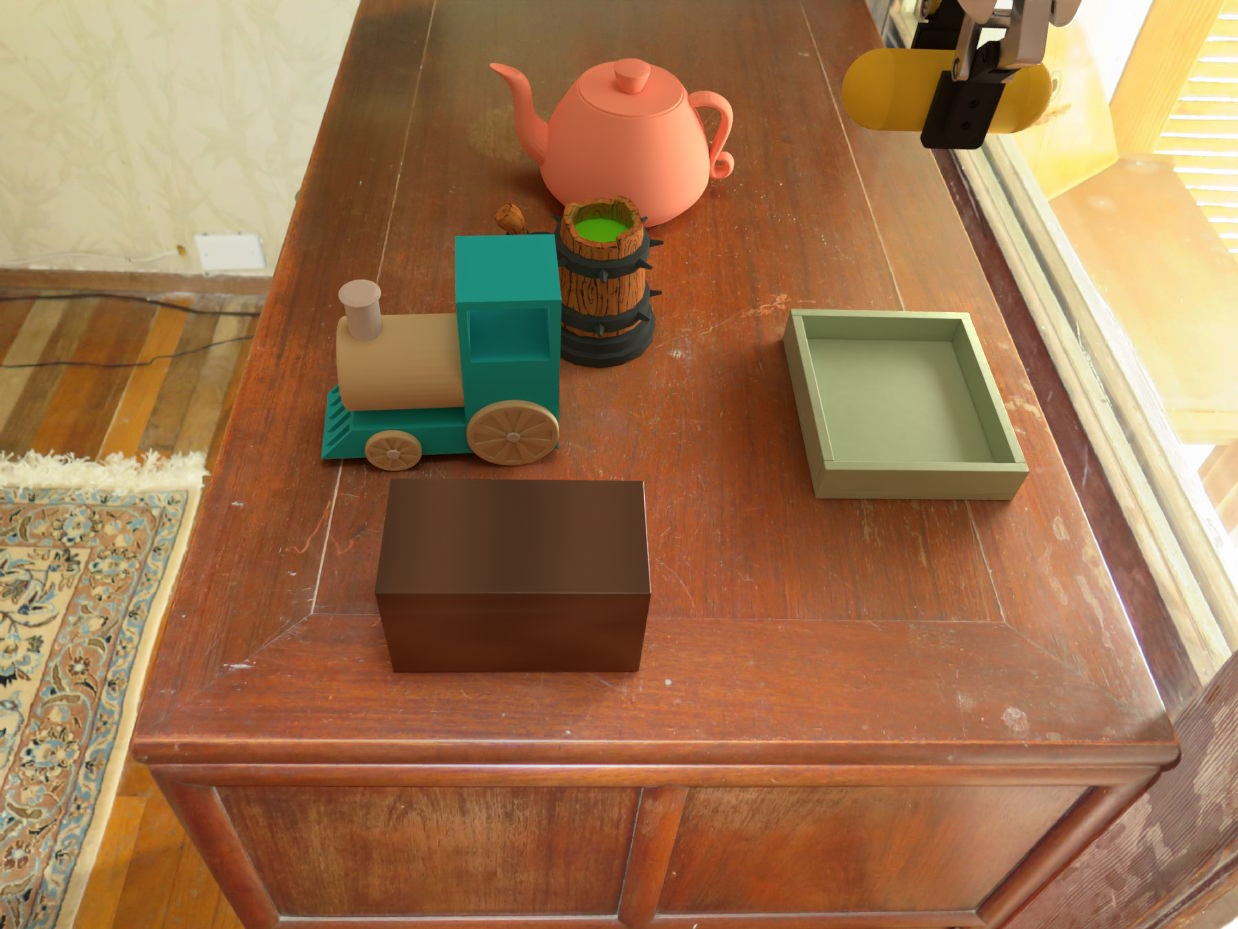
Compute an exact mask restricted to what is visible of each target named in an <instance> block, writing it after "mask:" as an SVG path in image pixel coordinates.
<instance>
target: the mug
mask: <svg viewBox="0 0 1238 929" xmlns="http://www.w3.org/2000/svg"><path fill="white" fill-rule="evenodd" d="M551 217H552V218H553V219H554V220H555V221H556V222H557V223H556V226H555V229H554V231H553V232H549V231H533V232H530V231H529V230H528V228H527V224H526V220H525V218H524V216H523V213H522V211H521V210H520V209H519V207H518V206H517V205H516V204H513V203H511V202H508V203H504V204H503V205H501V206H500V207H499V208H498V209H497V210H496V211H495V214H494V216H493V219H494V221H495V223H496V224H497V226H498V227H499V228H501V229H502V230H504V231H505V232H506V233H505V235H543V234H554V235H555V244H556V253H557V263H558V272H559V281H560V290H561V299H562V302H561V347H560V359H563V360H565V361H566V362H570V363H571V364H573V365H577V366H584V367H590V368H597V369H599V368H608V367H614V366H621V365H624V364H626V363H628V362H630V361H632V360H634V359H636V358H638V357H640V356H642V354H643V353H644V352H645V351H646V350H647V349H648V347H649V346H650V345H651V344H652V343H653V339H654V334H655V327H656V320H657V319H656V316H655V314H654V310H653V308H652V304H651V303H650V301H651V298H653V297H656V296H657V297H658V296H660V295H663V290H657V289H651V287H650V285H649V283H648V281H647V278H646V270H653V266H652V265H651V264H650V263H648V259H649V255H650V251H651V248H654V247H658V246H662V245H664V244H665V243H664V242H665V240H659V239H652V238H651V237H650V235H649V233H648V231H647V227H646V228H645V226H644V225H643V223H644V222H645V221H646V220H647V219H648V218H647V216H645V217H643V218H641V217H640V215H639V209H638V208H637V207H636V206H635V205H634V203H633V202H632V201H631V200H630V199H628V198H625V197H622V196H619V195H617V196H616V198H615V200H613V199H606V198H593V199H585V200H583V201H580V202H577V203H574V202H572V203H567V204H566V206H564V210H563V214H562V216H560V215H557V214H555V213H552V215H551Z"/></svg>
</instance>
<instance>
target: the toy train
mask: <svg viewBox="0 0 1238 929" xmlns="http://www.w3.org/2000/svg"><path fill="white" fill-rule="evenodd" d="M454 251H455V252H454V261H455V262H454V268H455V269H454V276H455V278H454V279H455V280H454V282H455V284H454V286H455V287H454V288H455V293H454V294H455V297H454V298H455V312H447V313H446V312H445V313H441V312H440V313H412V314H411V313H410V314H408V313H407V314H406V313H405V314H381V309H380V301H379V300H380V298H381V295H382V290H381V288H380V285H378V284H377V283H376V282H374V281H372V280H369V279H364V278H363V279H354V280H351V281H348V282H346V283H344V284H343V285H342V286H340V289H339V291H338V293H337V294H338V295H337V297H338V300H339V301H340V303H341V304H343V306H344V312H345V315H344V316H341V317H340V318H339V320H338V322H337V326H336V333H335V361H336V362H335V363H336V372H337V373H336V374H337V383H336V384H335V385H334V386H333V388H331V389H330V390H329V391H328V392H327V398H326V405H325V406H326V408H325V415H324V416H325V417H324V424H323V425H324V426H323V435H322V445H321V455H320V460H334V459H335V460H337V459H339V460H340V459H359V458H361V459H362V458H366V459H367V461H368V462H369V463H370V464H371V465H373V466H375V467H376V468H378V469H381V470H384V471H391V472H398V471H399V472H400V471H405V470H408V469H411V468H413V467H414V466H415V465H416V464H418V463H419V462H420V460H421V458H422V456H428V455H451V454H452V455H454V454H473V453H474V454H475V455H476V456H477V457H479V458H480V459H482V460H484V461H486V462H488V463H492V464H496V465H500V466H522V465H527V464H531V463H534V462H537V461H539V460H541V459H543V458H544V457H546V456H547V455H548V454H550V453H551V452H552V451H553V450H559V438H560V430H559V429H560V426H559V425H560V391H561V390H560V388H561V387H560V384H561V357H560V347H561V302H562V299H561V290H560V281H559V272H558V263H557V253H556V244H555V235H554V233H553V234H543V235H506V234H496V235H495V234H493V235H492V234H491V235H490V234H489V235H454Z"/></svg>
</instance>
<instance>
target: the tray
mask: <svg viewBox="0 0 1238 929" xmlns="http://www.w3.org/2000/svg"><path fill="white" fill-rule="evenodd" d="M782 342H783V347H784V352H785V356H786V357H785V358H786V361H787V366H788V371H789V377H790V381H791V386H792V392H793V395H794V401H795V406H796V411H797V415H798V420H799V426H800V429H801V435H802V440H803V444H804V449H805V454H806V459H807V463H808V468H809V472H810V473H809V474H810V478H811V483H812V487H813V493H814V498H815V499H834V500H835V499H836V500H837V499H840V500H841V499H842V500H843V499H844V500H845V499H847V500H848V499H849V500H850V499H851V500H856V499H857V500H946V501H947V500H953V501H954V500H956V501H957V500H958V501H959V500H962V501H963V500H965V501H966V500H967V501H970V500H971V501H1014V499H1015V497H1016V495H1017V493H1018V492H1019V490H1020V489H1021V487H1022V486H1023V484H1024V482H1025V480H1026V479H1027V478H1028V476H1029V474H1030V468H1029V467H1028V464H1027V461H1026V458H1025V456H1024V453H1023V451H1022V448H1021V445H1020V443H1019V440H1018V438H1017V436H1016V433H1015V432H1016V431H1015V430H1014V426H1013V425H1012V422H1011V419H1010V417H1009V414H1008V411H1007V409H1006V407H1005V404H1004V402H1003V399H1002V396H1001V394H1000V391H999V389H998V386H997V384H996V381H995V378H994V376H993V372H992V371H991V367H990V365H989V363H988V361H987V357H986V355H985V353H984V349H983V347H982V345H981V342H980V340H979V337H978V335H977V332H976V330H975V326H974V325H973V322H972V319H971V316H970V313H969V312H955V311H919V310H917V311H910V310H909V311H908V310H875V309H874V310H870V309H869V310H867V309H829V308H828V309H826V308H823V309H822V308H789V312H788V316H787V321H786V324H785V328H784V332H783V335H782Z"/></svg>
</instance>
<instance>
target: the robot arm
mask: <svg viewBox="0 0 1238 929" xmlns="http://www.w3.org/2000/svg"><path fill="white" fill-rule="evenodd" d="M1084 1H1085V0H1012V4H1011V8H996V4H997V3H998V0H921V2H920V6H919V17H920V19H921V22H919V21H918V22H917V24H916V28H915V32H914V35H913V38H912V41H911V44H910V48H909V49H932V50H956V51H955V55H954V59H953V62H952V67H951V71H946V70H942V72H941V75H940V78H939V81H938V84H937V87H936V91H935V94H934V97H933V100H932V103H931V106H930V109H929V112H928V115H927V118H926V121H925V124H924V127H923V130H922V132H921V133H920V136H919V140H920V143H921V145H922V147H923V148H924V149H927V150H962V151H964V150H967V151H974V150H978V149H979V148H981V147H982V146H983V145H984V142H985V139H986V137H987V134H988V133H987V132H988V129H989V127H990V124H991V121H992V119H993V116H994V114H995V111H996V109H997V106H998V103H999V101H1000V98H1001V96H1002V93H1003V91H1004V88H1005V85H1006V83H1007V84H1008V83H1011V82H1012V80H1013V78H1014V76H1015V73H1016V72H1017V71H1019V70H1020V69H1021V68H1027V67H1032V66H1037V65H1039V64H1040V63H1041V62H1042V63H1043V60H1044V59H1045V58H1044V57H1045V54H1046V47H1047V40H1048V33H1049V25H1050V24H1051V25H1052V26H1054V27H1055V28H1067V27H1069V25H1071V24H1072V23H1073V22H1074V21H1075V19H1076V18H1077V16H1078V14H1079V13H1080V10H1081V9H1082V6H1083V3H1084ZM923 21H924V22H923ZM925 21H927V22H925ZM983 29H997V30H998V29H999V30H1001V29H1003V30H1005V33H1004V36H1003V37H1002V38H1000V39H997V40H987V41H986V42H985V43H983V44H981V45H980V46H979V42H980V38H981V35H982V32H983Z"/></svg>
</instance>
